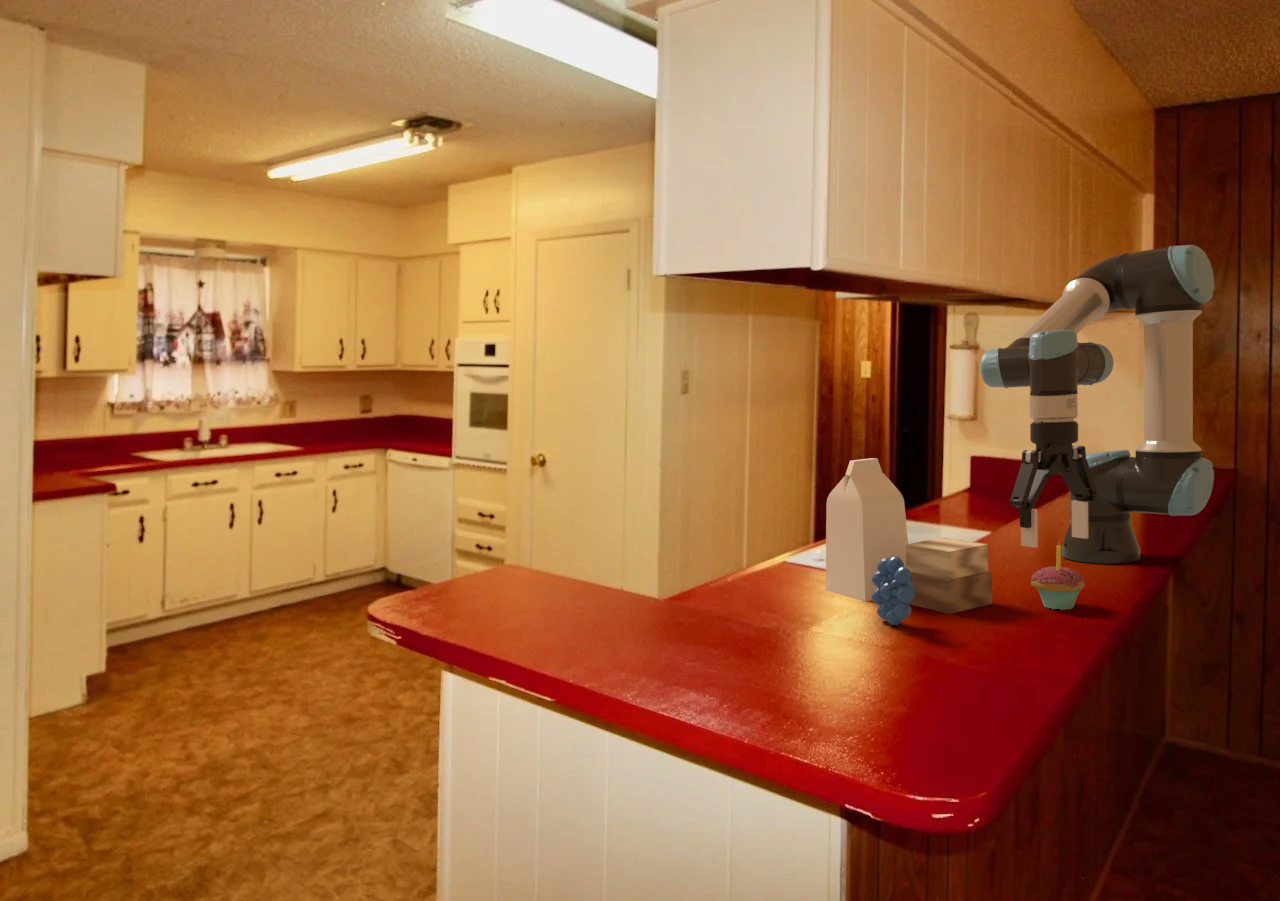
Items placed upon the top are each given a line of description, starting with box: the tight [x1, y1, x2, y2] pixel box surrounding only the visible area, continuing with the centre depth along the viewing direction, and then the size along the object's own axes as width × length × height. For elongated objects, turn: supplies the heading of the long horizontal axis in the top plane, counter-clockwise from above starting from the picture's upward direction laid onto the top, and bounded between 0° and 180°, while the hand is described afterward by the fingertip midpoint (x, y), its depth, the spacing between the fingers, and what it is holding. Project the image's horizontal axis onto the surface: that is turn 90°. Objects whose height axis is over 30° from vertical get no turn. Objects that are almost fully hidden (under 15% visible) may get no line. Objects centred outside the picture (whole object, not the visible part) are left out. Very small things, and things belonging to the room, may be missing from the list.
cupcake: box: [1030, 540, 1086, 611], centre depth 155 cm, size 9×8×12 cm
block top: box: [906, 537, 989, 580], centre depth 162 cm, size 10×10×5 cm
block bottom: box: [908, 570, 993, 615], centre depth 162 cm, size 11×11×6 cm
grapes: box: [871, 556, 915, 626], centre depth 149 cm, size 12×7×12 cm, turn 14°
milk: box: [825, 457, 909, 602], centre depth 173 cm, size 12×12×26 cm
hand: (1055, 542), depth 155 cm, fingers open, 13 cm apart
